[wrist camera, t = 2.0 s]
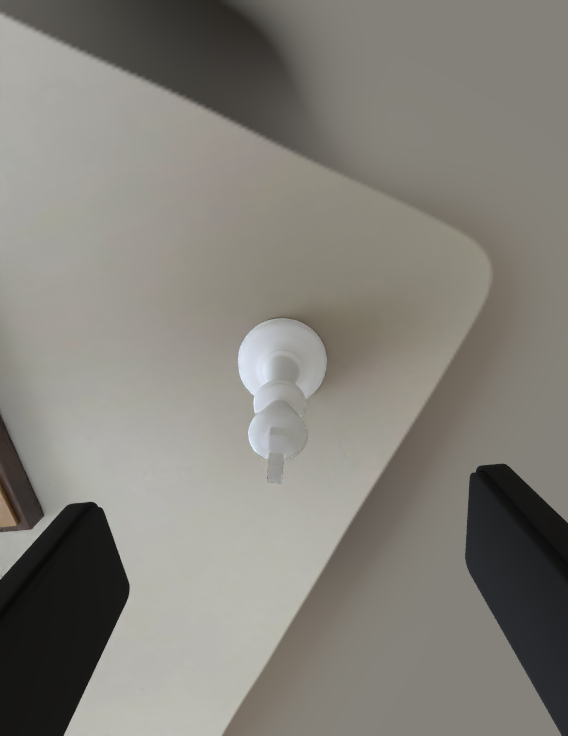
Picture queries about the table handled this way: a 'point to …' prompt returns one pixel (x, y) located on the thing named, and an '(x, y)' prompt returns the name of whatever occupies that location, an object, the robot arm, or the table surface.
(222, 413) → the table surface
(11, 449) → the board
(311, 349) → the chess piece
